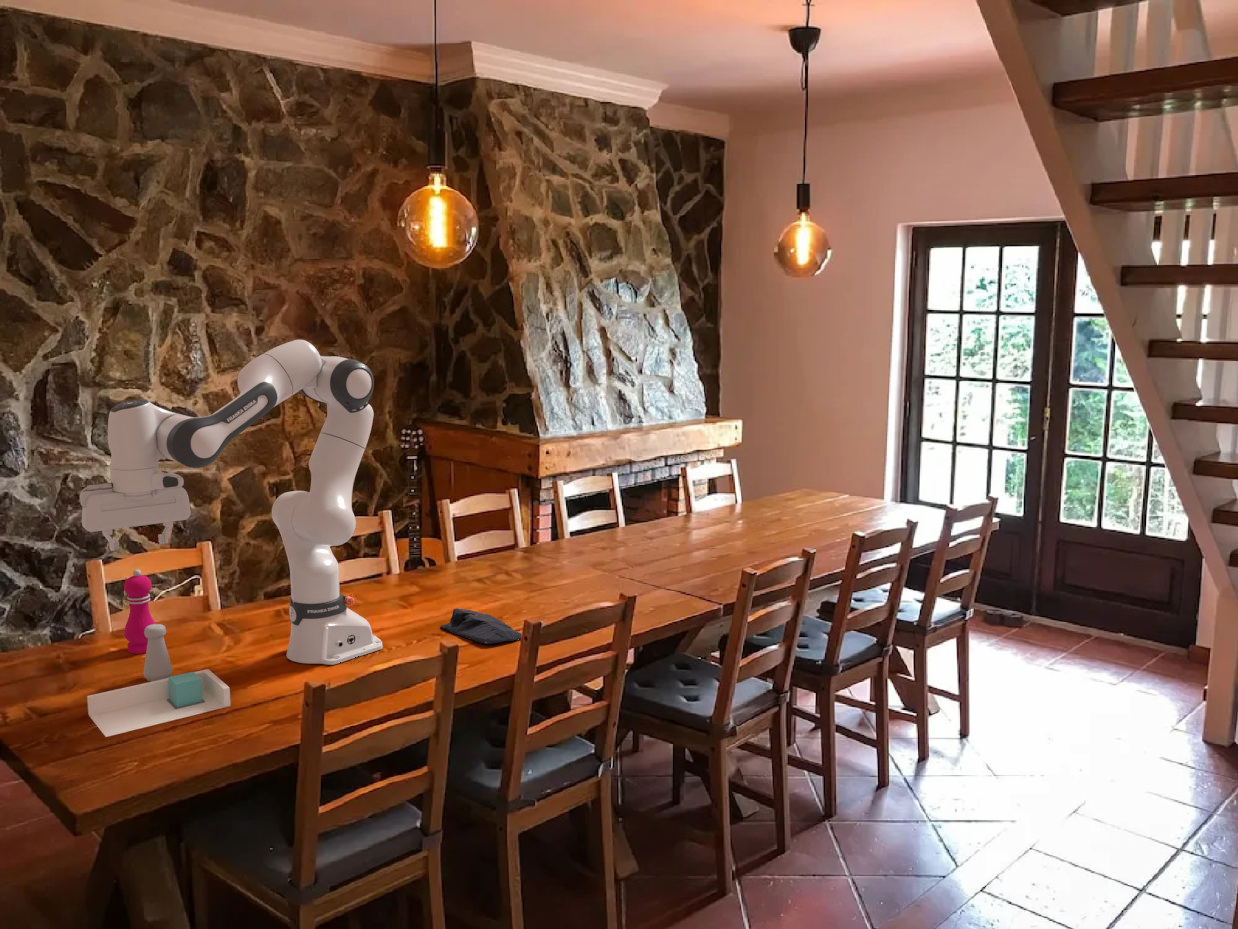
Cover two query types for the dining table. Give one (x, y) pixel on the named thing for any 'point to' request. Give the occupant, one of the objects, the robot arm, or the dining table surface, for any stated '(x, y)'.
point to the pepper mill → (138, 612)
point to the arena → (152, 704)
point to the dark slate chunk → (480, 627)
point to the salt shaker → (156, 654)
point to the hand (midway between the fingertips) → (139, 546)
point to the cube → (185, 689)
